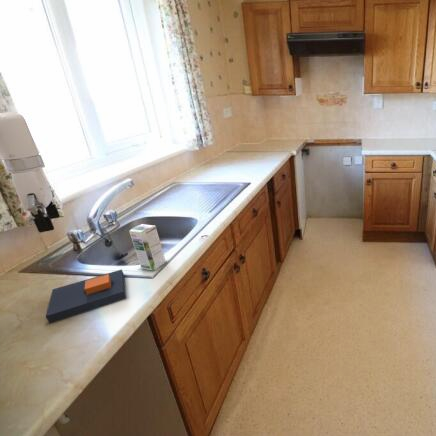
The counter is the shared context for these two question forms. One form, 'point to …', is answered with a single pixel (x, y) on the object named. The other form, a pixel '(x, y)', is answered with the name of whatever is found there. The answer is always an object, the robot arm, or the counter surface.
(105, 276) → the top pad
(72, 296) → the base pad
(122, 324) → the counter surface
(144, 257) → the syrup box
